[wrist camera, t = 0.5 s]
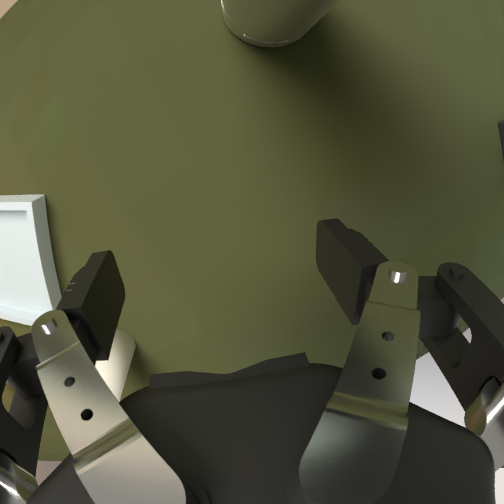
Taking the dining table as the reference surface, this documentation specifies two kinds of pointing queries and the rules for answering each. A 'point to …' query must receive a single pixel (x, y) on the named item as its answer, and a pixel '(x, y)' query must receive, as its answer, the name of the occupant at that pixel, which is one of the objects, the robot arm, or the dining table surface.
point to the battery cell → (117, 362)
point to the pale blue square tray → (26, 260)
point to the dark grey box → (502, 134)
